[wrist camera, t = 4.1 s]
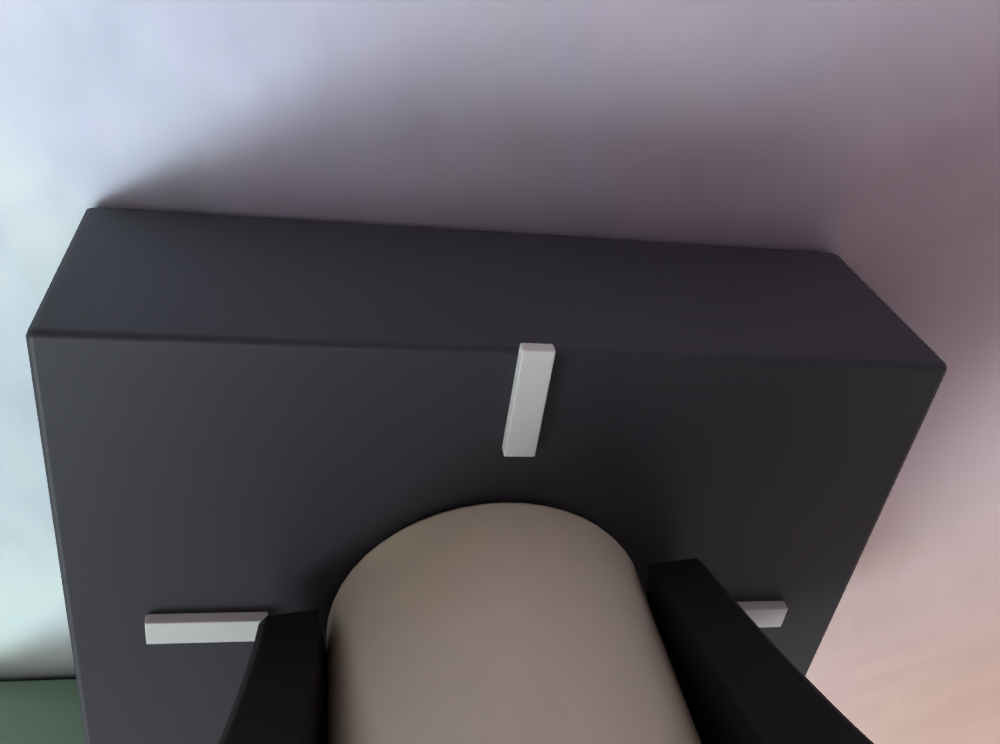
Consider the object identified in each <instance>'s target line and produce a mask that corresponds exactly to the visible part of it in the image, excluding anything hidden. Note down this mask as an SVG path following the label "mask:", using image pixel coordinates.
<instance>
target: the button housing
mask: <svg viewBox="0 0 1000 744" xmlns="http://www.w3.org/2000/svg"><path fill="white" fill-rule="evenodd" d="M0 744H86V741H85V734H84V727H83V721H82V714H81V707H80V700H79V693H78V687H77V680H76V679H63V680H33V681H4V682H0Z"/></svg>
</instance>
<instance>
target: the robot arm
mask: <svg viewBox="0 0 1000 744" xmlns="http://www.w3.org/2000/svg"><path fill="white" fill-rule="evenodd" d="M646 598H647V601H648V604H649V606H650V609H651V612H652V614H653V617H654V619H655V622H656V625H657V627H658V630H659V633H660V635H661V638H662V640H663V643H664V646H665V648H666V651H667V654H668V656H669V659H670V661H671V664H672V667H673V669H674V672H675V675H676V677H677V680H678V682H679V685H680V688H681V690H682V693H683V696H684V698H685V701H686V703H687V706H688V709H689V711H690V714H691V717H692V719H693V722H694V724H695V727H696V730H697V732H698V735H699V738H700V740H701V743H702V744H874V743H873V742H872V741H870V740H869V739H868V738H867V737H866V736H865V735H864V734H863V733H862V732H861V731H860V730H859V729H858V728H856V727H855V726H854V725H853V724H852V723H851V722H850V721H849V720H848V719H847V718H846V717H845V716H844V715H843V714H842V713H841V712H840V711H839V710H838V709H837V708H836V707H835V706H834V705H833V704H832V703H831V702H830V701H829V700H828V699H827V698H826V697H825V696H824V695H823V694H822V693H821V692H820V691H819V690H818V689H817V688H816V687H815V686H814V685H813V684H812V683H811V682H810V681H809V680H808V679H807V678H806V677H805V676H804V675H803V674H802V673H801V672H800V671H799V670H798V669H797V668H796V667H795V666H794V665H793V663H792V662H791V661H790V660H789V659H788V658H787V657H786V656H785V655H784V654H783V653H782V652H781V651H780V650H779V649H778V648H777V646H776V645H775V644H774V643H773V642H772V641H771V640H770V639H769V638H768V637H767V636H766V634H765V633H764V632H763V631H762V630H761V629H760V628H759V627H758V626H757V625H756V623H755V622H754V621H753V620H752V619H751V618H750V617H749V616H748V614H747V613H746V612H745V611H744V610H743V609H742V608H741V607H740V605H739V604H738V603H737V602H736V601H735V600H734V598H733V597H732V596H731V595H730V594H729V593H728V592H727V590H726V589H725V588H724V587H723V586H722V585H721V583H720V582H719V581H718V580H717V579H716V577H715V576H714V575H713V574H712V573H711V572H710V570H709V569H708V568H707V567H706V566H705V564H704V563H702V562H701V561H700V560H699V559H697V558H692V559H685V560H677V561H670V562H663V563H655V564H649V571H648V583H647V594H646ZM218 744H328V723H327V651H326V646H325V640H324V635H323V630H322V624H321V619H320V614H319V609H314V610H306V611H299V612H291V613H284V614H277V615H269V616H266V617H265V618H264V619H263V620H262V621H261V622H260V623H259V625H258V629H257V633H256V637H255V641H254V644H253V648H252V651H251V654H250V658H249V661H248V664H247V667H246V670H245V673H244V676H243V679H242V682H241V685H240V688H239V691H238V693H237V696H236V699H235V701H234V704H233V707H232V710H231V712H230V715H229V718H228V720H227V723H226V725H225V728H224V730H223V733H222V735H221V737H220V740H219V742H218Z"/></svg>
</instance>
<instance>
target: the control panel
mask: <svg viewBox="0 0 1000 744" xmlns="http://www.w3.org/2000/svg"><path fill="white" fill-rule="evenodd" d="M26 340H27V347H28V354H29V360H30V367H31V374H32V381H33V388H34V394H35V401H36V408H37V415H38V422H39V428H40V435H41V442H42V449H43V456H44V462H45V469H46V476H47V483H48V490H49V496H50V503H51V510H52V517H53V524H54V530H55V537H56V544H57V551H58V558H59V564H60V571H61V578H62V585H63V592H64V598H65V605H66V612H67V619H68V625H69V632H70V639H71V646H72V653H73V659H74V666H75V673H76V680H77V687H78V693H79V700H80V707H81V714H82V721H83V727H84V734H85V741H86V744H218V742H219V740H220V737H221V735H222V733H223V730H224V728H225V725H226V723H227V720H228V718H229V715H230V712H231V710H232V707H233V704H234V701H235V699H236V696H237V693H238V691H239V688H240V685H241V682H242V679H243V676H244V673H245V670H246V667H247V664H248V661H249V658H250V654H251V651H252V648H253V644H254V641H255V637H256V633H257V629H258V625H259V623H260V622H261V621H262V620H263V619H264V618H265V617H266V616H269V615H277V614H284V613H291V612H299V611H306V610H314V609H319V614H320V619H321V624H322V630H323V635H324V640H325V646H326V651H327V624H328V616H329V613H330V610H331V607H332V603H333V601H334V599H335V597H336V595H337V593H338V591H339V589H340V587H341V585H342V583H343V582H344V580H345V579H346V578H347V576H348V575H349V573H350V572H351V571H352V569H353V568H354V567H355V566H356V565H357V564H358V563H359V562H360V561H361V560H362V558H363V557H364V556H365V555H366V554H368V553H369V552H370V551H371V550H372V549H374V548H375V547H376V546H377V545H379V544H380V543H381V542H382V541H384V540H386V539H387V538H389V537H390V536H392V535H393V534H395V533H396V532H398V531H400V530H402V529H404V528H406V527H408V526H410V525H412V524H414V523H416V522H418V521H420V520H423V519H425V518H428V517H431V516H433V515H436V514H438V513H442V512H446V511H449V510H453V509H457V508H461V507H466V506H472V505H478V504H487V503H501V502H511V503H530V504H537V505H544V506H549V507H553V508H557V509H560V510H564V511H567V512H570V513H572V514H575V515H577V516H580V517H582V518H584V519H586V520H588V521H590V522H591V523H593V524H595V525H597V526H598V527H600V528H601V529H602V530H604V531H605V532H606V533H607V534H609V535H610V536H611V537H613V538H614V539H615V540H616V541H617V542H618V543H619V545H620V546H621V547H622V548H623V549H624V550H625V551H626V553H627V555H628V556H629V558H630V559H631V561H632V562H633V565H634V567H635V570H636V572H637V575H638V577H639V580H640V583H641V585H642V588H643V590H644V593H645V596H646V594H647V583H648V571H649V564H655V563H663V562H670V561H677V560H685V559H692V558H697V559H699V560H700V561H701V562H702V563H704V564H705V566H706V567H707V568H708V569H709V570H710V572H711V573H712V574H713V575H714V576H715V577H716V579H717V580H718V581H719V582H720V583H721V585H722V586H723V587H724V588H725V589H726V590H727V592H728V593H729V594H730V595H731V596H732V597H733V598H734V600H735V601H736V602H737V603H738V604H739V605H740V607H741V608H742V609H743V610H744V611H745V612H746V613H747V614H748V616H749V617H750V618H751V619H752V620H753V621H754V622H755V623H756V625H757V626H758V627H759V628H760V629H761V630H762V631H763V632H764V633H765V634H766V636H767V637H768V638H769V639H770V640H771V641H772V642H773V643H774V644H775V645H776V646H777V648H778V649H779V650H780V651H781V652H782V653H783V654H784V655H785V656H786V657H787V658H788V659H789V660H790V661H791V662H792V663H793V665H794V666H795V667H796V668H797V669H798V670H799V671H800V672H801V673H802V674H803V675H804V676H805V675H806V673H807V671H808V668H809V666H810V664H811V662H812V660H813V658H814V656H815V653H816V651H817V649H818V647H819V645H820V643H821V640H822V638H823V636H824V634H825V632H826V630H827V627H828V625H829V623H830V621H831V619H832V617H833V614H834V612H835V610H836V608H837V606H838V604H839V601H840V599H841V597H842V595H843V593H844V591H845V589H846V586H847V584H848V582H849V580H850V578H851V576H852V573H853V571H854V569H855V567H856V565H857V563H858V560H859V558H860V556H861V554H862V552H863V550H864V547H865V545H866V543H867V541H868V539H869V537H870V535H871V532H872V530H873V528H874V526H875V524H876V522H877V519H878V517H879V515H880V513H881V511H882V509H883V506H884V504H885V502H886V500H887V498H888V496H889V493H890V491H891V489H892V487H893V485H894V483H895V481H896V478H897V476H898V474H899V472H900V470H901V468H902V465H903V463H904V461H905V459H906V457H907V455H908V452H909V450H910V448H911V446H912V444H913V442H914V439H915V437H916V435H917V433H918V431H919V429H920V427H921V424H922V422H923V420H924V418H925V416H926V414H927V411H928V409H929V407H930V405H931V403H932V401H933V398H934V396H935V394H936V392H937V390H938V388H939V385H940V383H941V381H942V379H943V377H944V375H945V373H946V364H945V363H944V362H943V361H942V360H941V359H940V358H939V357H938V356H937V355H936V354H935V353H934V352H933V351H932V350H931V349H930V348H929V347H928V346H927V345H926V344H925V343H924V342H923V341H922V340H921V339H920V338H919V337H918V336H917V335H916V334H915V333H914V332H913V331H912V330H911V329H910V328H909V327H908V326H907V325H906V324H905V323H904V322H903V321H902V320H901V319H900V318H899V317H898V316H897V315H896V314H895V313H894V312H893V311H892V310H891V309H890V308H889V307H888V306H887V305H886V304H885V303H884V302H883V301H882V300H881V299H880V298H879V297H878V296H877V295H876V294H875V293H874V292H873V291H872V290H871V289H870V288H869V287H868V286H867V285H866V284H865V283H864V282H863V281H862V280H861V279H860V278H859V277H858V276H857V275H856V274H855V273H854V272H853V271H852V270H851V269H850V268H849V267H848V266H847V265H846V264H845V263H844V262H843V261H842V260H841V259H840V258H839V257H838V256H837V255H836V254H832V253H817V252H801V251H785V250H769V249H753V248H736V247H720V246H704V245H688V244H672V243H656V242H640V241H623V240H607V239H591V238H575V237H559V236H543V235H527V234H511V233H494V232H478V231H462V230H446V229H430V228H414V227H398V226H382V225H365V224H349V223H333V222H317V221H301V220H285V219H269V218H252V217H236V216H220V215H204V214H188V213H172V212H156V211H140V210H123V209H107V208H89V209H87V210H86V212H85V214H84V216H83V218H82V220H81V222H80V224H79V226H78V229H77V231H76V233H75V235H74V237H73V239H72V241H71V243H70V245H69V247H68V249H67V251H66V253H65V255H64V257H63V259H62V261H61V263H60V265H59V267H58V269H57V272H56V274H55V276H54V278H53V280H52V282H51V284H50V286H49V288H48V290H47V292H46V294H45V296H44V298H43V300H42V302H41V304H40V306H39V308H38V310H37V312H36V314H35V317H34V319H33V321H32V323H31V325H30V327H29V329H28V331H27V334H26Z"/></svg>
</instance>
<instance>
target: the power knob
mask: <svg viewBox="0 0 1000 744" xmlns="http://www.w3.org/2000/svg"><path fill="white" fill-rule="evenodd" d="M327 723H328V744H702V743H701V740H700V738H699V735H698V732H697V730H696V727H695V724H694V722H693V719H692V717H691V714H690V711H689V709H688V706H687V703H686V701H685V698H684V696H683V693H682V690H681V688H680V685H679V682H678V680H677V677H676V675H675V672H674V669H673V667H672V664H671V661H670V659H669V656H668V654H667V651H666V648H665V646H664V643H663V640H662V638H661V635H660V633H659V630H658V627H657V625H656V622H655V619H654V617H653V614H652V612H651V609H650V606H649V604H648V601H647V598H646V596H645V593H644V590H643V588H642V585H641V583H640V580H639V577H638V575H637V572H636V570H635V567H634V565H633V562H632V561H631V559H630V558H629V556H628V555H627V553H626V551H625V550H624V549H623V548H622V547H621V546H620V545H619V543H618V542H617V541H616V540H615V539H614V538H613V537H611V536H610V535H609V534H607V533H606V532H605V531H604V530H602V529H601V528H600V527H598V526H597V525H595V524H593V523H591V522H590V521H588V520H586V519H584V518H582V517H580V516H577V515H575V514H572V513H570V512H567V511H564V510H560V509H557V508H553V507H549V506H544V505H537V504H530V503H511V502H501V503H487V504H478V505H472V506H466V507H461V508H457V509H453V510H449V511H446V512H442V513H438V514H436V515H433V516H431V517H428V518H425V519H423V520H420V521H418V522H416V523H414V524H412V525H410V526H408V527H406V528H404V529H402V530H400V531H398V532H396V533H395V534H393V535H392V536H390V537H389V538H387V539H386V540H384V541H382V542H381V543H380V544H379V545H377V546H376V547H375V548H374V549H372V550H371V551H370V552H369V553H368V554H366V555H365V556H364V557H363V558H362V560H361V561H360V562H359V563H358V564H357V565H356V566H355V567H354V568H353V569H352V571H351V572H350V573H349V575H348V576H347V578H346V579H345V580H344V582H343V583H342V585H341V587H340V589H339V591H338V593H337V595H336V597H335V599H334V601H333V603H332V607H331V610H330V613H329V616H328V624H327Z"/></svg>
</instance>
